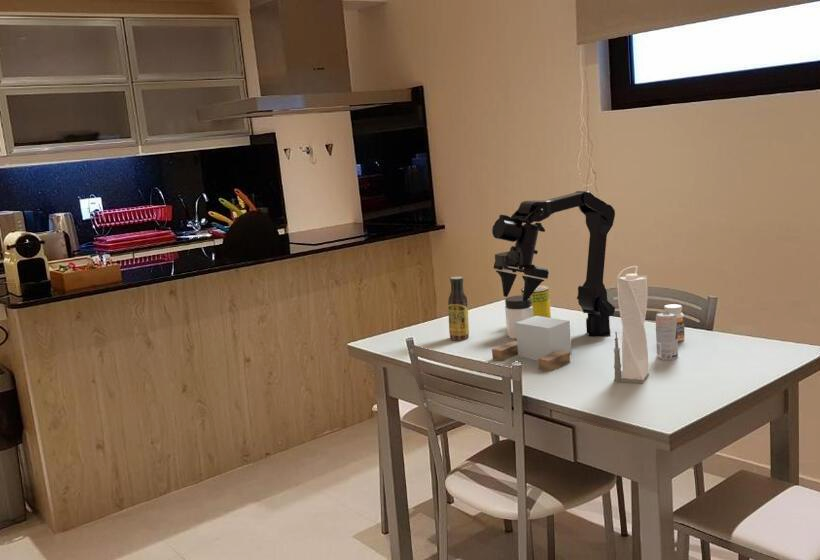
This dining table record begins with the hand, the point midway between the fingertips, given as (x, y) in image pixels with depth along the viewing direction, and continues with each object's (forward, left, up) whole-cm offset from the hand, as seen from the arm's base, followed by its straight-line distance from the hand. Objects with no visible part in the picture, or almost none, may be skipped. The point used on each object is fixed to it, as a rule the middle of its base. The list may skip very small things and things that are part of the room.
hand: (514, 298), depth 215 cm
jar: (+2, -21, -17) cm, 27 cm away
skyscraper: (-31, +20, -17) cm, 41 cm away
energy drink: (-40, +4, -17) cm, 44 cm away
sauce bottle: (+21, -19, -17) cm, 33 cm away
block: (-7, +1, -17) cm, 18 cm away
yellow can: (-2, -34, -17) cm, 38 cm away
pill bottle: (-43, -13, -17) cm, 48 cm away
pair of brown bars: (-4, +6, -17) cm, 18 cm away
